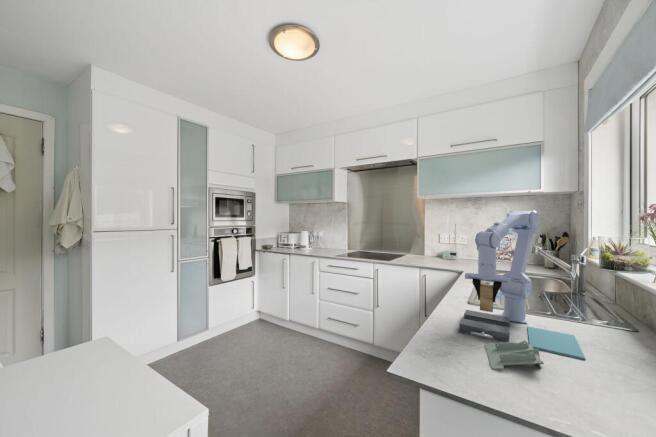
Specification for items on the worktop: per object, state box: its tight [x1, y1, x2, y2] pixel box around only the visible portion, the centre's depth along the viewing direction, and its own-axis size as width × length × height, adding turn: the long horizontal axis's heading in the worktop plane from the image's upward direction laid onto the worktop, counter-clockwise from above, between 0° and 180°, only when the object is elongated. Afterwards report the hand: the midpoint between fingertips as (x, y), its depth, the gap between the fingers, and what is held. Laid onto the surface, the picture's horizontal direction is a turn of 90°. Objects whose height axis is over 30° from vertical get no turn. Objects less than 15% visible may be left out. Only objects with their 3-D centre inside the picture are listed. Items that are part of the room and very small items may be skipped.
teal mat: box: [527, 326, 586, 361], centre depth 90 cm, size 18×13×1 cm
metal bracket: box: [483, 340, 545, 371], centre depth 79 cm, size 14×6×15 cm
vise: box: [458, 309, 511, 343], centre depth 101 cm, size 22×15×3 cm
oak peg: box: [479, 283, 494, 313], centre depth 101 cm, size 4×4×9 cm
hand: (486, 300), depth 101 cm, fingers closed on oak peg, 4 cm apart
